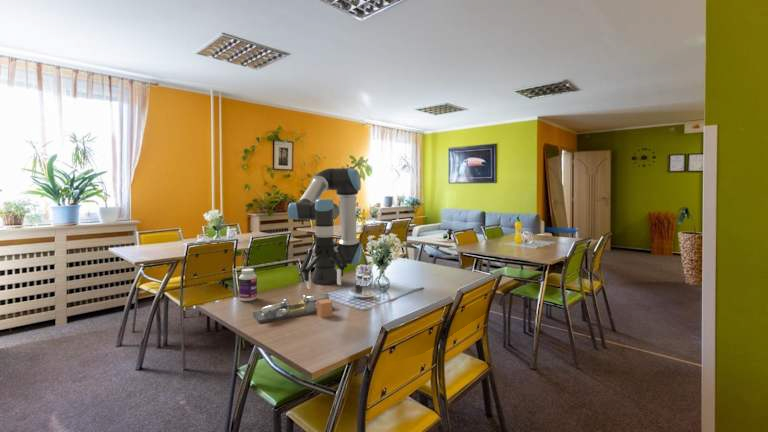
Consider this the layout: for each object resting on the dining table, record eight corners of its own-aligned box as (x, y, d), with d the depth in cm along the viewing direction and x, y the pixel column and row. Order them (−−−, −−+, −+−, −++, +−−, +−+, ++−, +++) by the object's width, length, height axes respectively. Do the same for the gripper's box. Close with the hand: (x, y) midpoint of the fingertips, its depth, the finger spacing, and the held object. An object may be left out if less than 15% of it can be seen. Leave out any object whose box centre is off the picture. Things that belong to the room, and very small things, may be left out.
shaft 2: (305, 309, 159) (305, 296, 158) (301, 306, 163) (301, 293, 162) (329, 305, 165) (329, 292, 164) (325, 302, 169) (325, 290, 168)
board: (324, 303, 172) (324, 294, 171) (333, 309, 162) (333, 300, 162) (252, 315, 155) (252, 305, 155) (259, 323, 146) (258, 312, 145)
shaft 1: (282, 310, 157) (282, 297, 156) (289, 313, 154) (289, 300, 153) (259, 318, 148) (258, 304, 147) (266, 320, 145) (265, 306, 144)
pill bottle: (253, 302, 172) (253, 271, 171) (236, 301, 172) (235, 271, 171) (259, 296, 180) (259, 267, 179) (243, 296, 180) (242, 267, 179)
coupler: (327, 312, 159) (327, 298, 159) (332, 315, 155) (332, 301, 155) (316, 314, 157) (316, 300, 156) (321, 318, 152) (321, 303, 152)
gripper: (347, 233, 163) (347, 280, 164) (292, 236, 150) (292, 288, 151) (355, 235, 157) (354, 284, 158) (298, 238, 143) (298, 292, 145)
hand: (324, 286), depth 155 cm, fingers open, 13 cm apart
